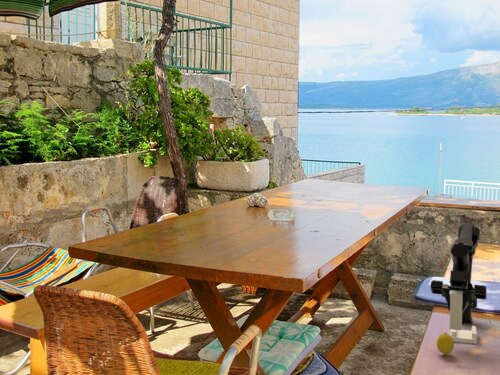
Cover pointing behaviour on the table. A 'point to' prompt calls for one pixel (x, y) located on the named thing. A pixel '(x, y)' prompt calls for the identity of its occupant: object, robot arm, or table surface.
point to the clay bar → (456, 310)
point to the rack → (465, 335)
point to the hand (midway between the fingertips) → (455, 311)
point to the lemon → (445, 343)
